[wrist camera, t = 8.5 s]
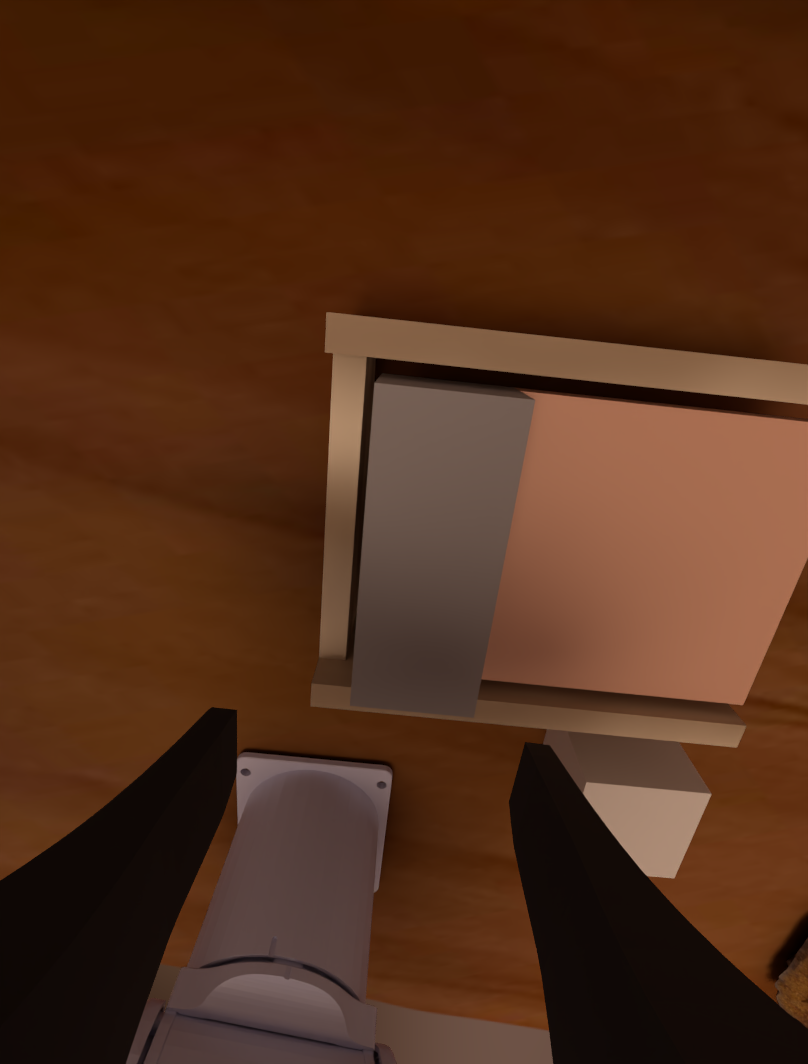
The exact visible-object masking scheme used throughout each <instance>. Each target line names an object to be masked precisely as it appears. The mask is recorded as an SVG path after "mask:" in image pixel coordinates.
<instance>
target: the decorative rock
mask: <svg viewBox="0 0 808 1064" xmlns="http://www.w3.org/2000/svg"><path fill="white" fill-rule="evenodd" d="M787 964H788V968H787V969H786V970H785V971H784V972H783V973H782V974H781V975H780V976H779V979H778V980H777V981H776V983H775V987H776V988H777V989H778V993H777V996H776V998H777V1000H778V1003H779V1005H780V1007H782V1008H783V1009H784V1010H785V1011H786V1012H788V1013H789V1014H790V1015H791V1016H792V1017H794V1018H795V1019H796V1020H797V1021H799V1022H800V1023H801V1024H802V1025H804V1026H805V1027H806V1028H807V1029H808V938H807V939H806V941H805V943H804V944H803V945H802V947H801V948H800V949H799V950H798V952H797V954H796V955H794V956H793V957H791V958H790V959H788V960H787Z"/></svg>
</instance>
